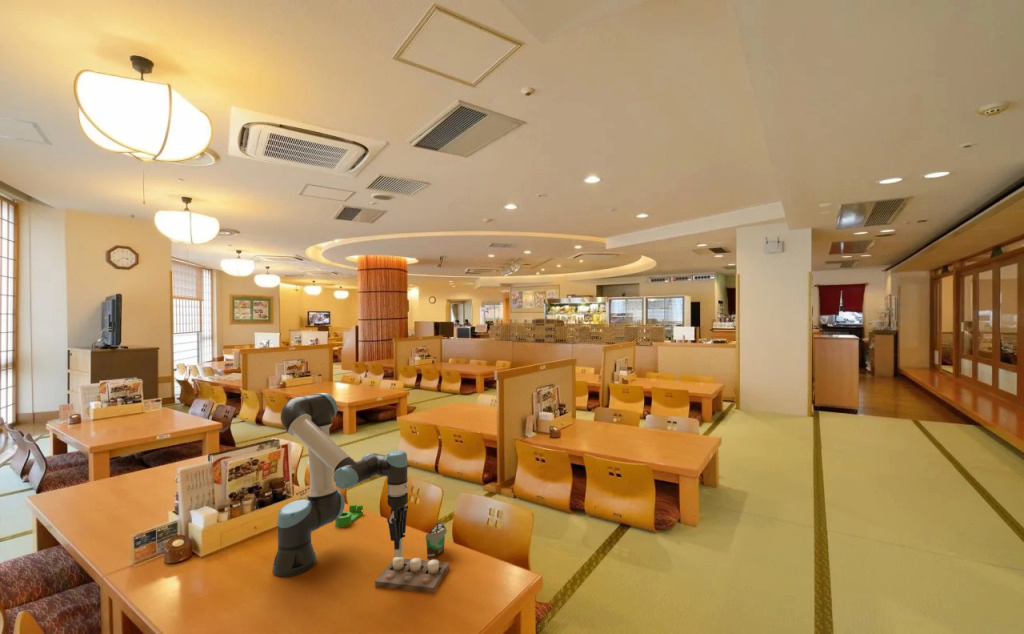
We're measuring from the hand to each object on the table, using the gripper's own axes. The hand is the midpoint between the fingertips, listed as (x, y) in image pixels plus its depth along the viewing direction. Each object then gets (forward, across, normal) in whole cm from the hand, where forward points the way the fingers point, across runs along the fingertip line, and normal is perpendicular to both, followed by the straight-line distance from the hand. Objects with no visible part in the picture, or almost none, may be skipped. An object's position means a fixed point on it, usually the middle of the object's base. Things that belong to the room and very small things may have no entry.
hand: (398, 556), depth 164 cm
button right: (+5, 0, -14) cm, 15 cm away
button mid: (+5, 0, -7) cm, 8 cm away
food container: (+6, +16, -10) cm, 20 cm away
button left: (+5, 0, 0) cm, 5 cm away
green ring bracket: (+6, +37, +44) cm, 58 cm away
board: (+6, -2, -7) cm, 9 cm away
